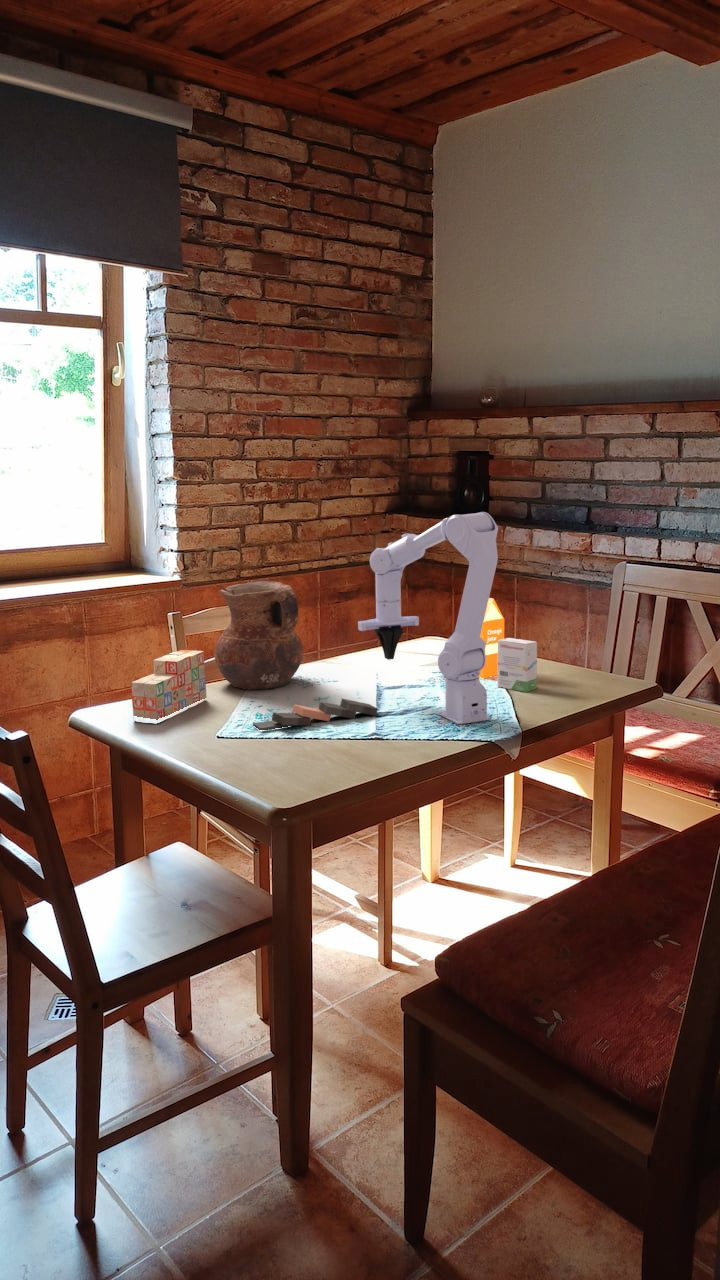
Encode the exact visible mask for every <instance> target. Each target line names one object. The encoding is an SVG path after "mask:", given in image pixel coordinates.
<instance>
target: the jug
mask: <svg viewBox="0 0 720 1280" xmlns="http://www.w3.org/2000/svg"><path fill="white" fill-rule="evenodd" d="M219 594H220V595H221V596H222V598H223V599H224V601H225V602H226V605H227V606H228V608H229V611H230V612H229V613H230V624H229V625H228V626H227V628H226V629H225V630H224V631H223V632H222V633H221V635H220V636H219V639H218V640H217V642H216V644H215V649H214V660H215V661H214V662H215V664H216V666H217V668H218V671H219V672H220V674H221V675H222V677H223V678H224V679H225V680H226V682H228V683H229V684H230V685H231V686H232V685H233V687H234V686H235V687H234V688H236V687H238V688H237V689H240V688H242V689H241V690H270V689H276V688H280V687H281V686H284V685H285V684H287V683H288V681H290V680H291V679H292V678H293V677H294V676H295V674H296V672H297V671H298V670H299V668H300V666H301V663H302V660H303V656H304V643H303V642H302V640H301V638H300V636H299V635H298V634H297V633H296V632H295V628H296V626H297V625H298V622H299V602H298V600H297V599H298V598H297V596H296V594H295V591H294V590H293V587H292V586H291V585H289V584H284V583H281V582H279V581H275V580H256V581H250V582H247V583H238V584H237V583H236V584H233V585H229V586H227V587H222V589H220V591H219ZM275 687H276V688H275ZM269 688H270V689H269Z"/></svg>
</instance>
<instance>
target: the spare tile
mask: <svg viewBox="0 0 720 1280" xmlns="http://www.w3.org/2000/svg"><path fill="white" fill-rule="evenodd" d="M292 707H293V708H292V712H291V713H296V714H299V715H301V716H304V717H309V718H311V719H313V720H314V719H315V720H321V721H325V722H330V721H331V718H332V717H331V716H332V715H331V714H325V713H324V712H322V711H321V710H319V709H318V708H313V707H309V706H303V705H299V704H294V705H293V706H292Z"/></svg>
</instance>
